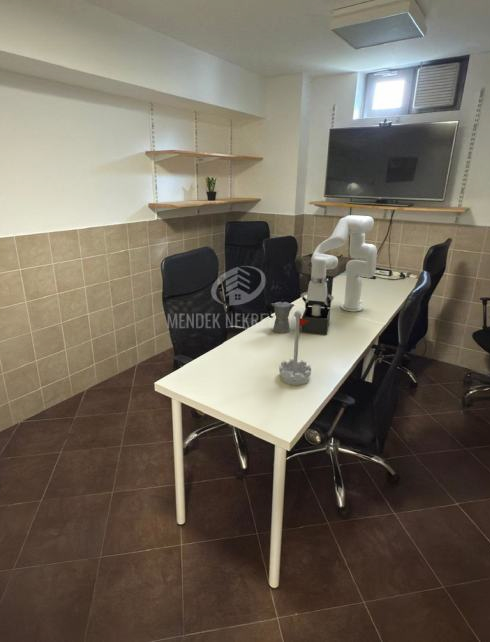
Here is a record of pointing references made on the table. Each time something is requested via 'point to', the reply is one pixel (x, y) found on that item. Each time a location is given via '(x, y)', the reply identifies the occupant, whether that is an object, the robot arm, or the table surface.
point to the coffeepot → (281, 315)
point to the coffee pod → (316, 310)
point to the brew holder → (315, 316)
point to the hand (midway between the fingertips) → (315, 310)
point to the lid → (329, 291)
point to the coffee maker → (316, 322)
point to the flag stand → (295, 360)
